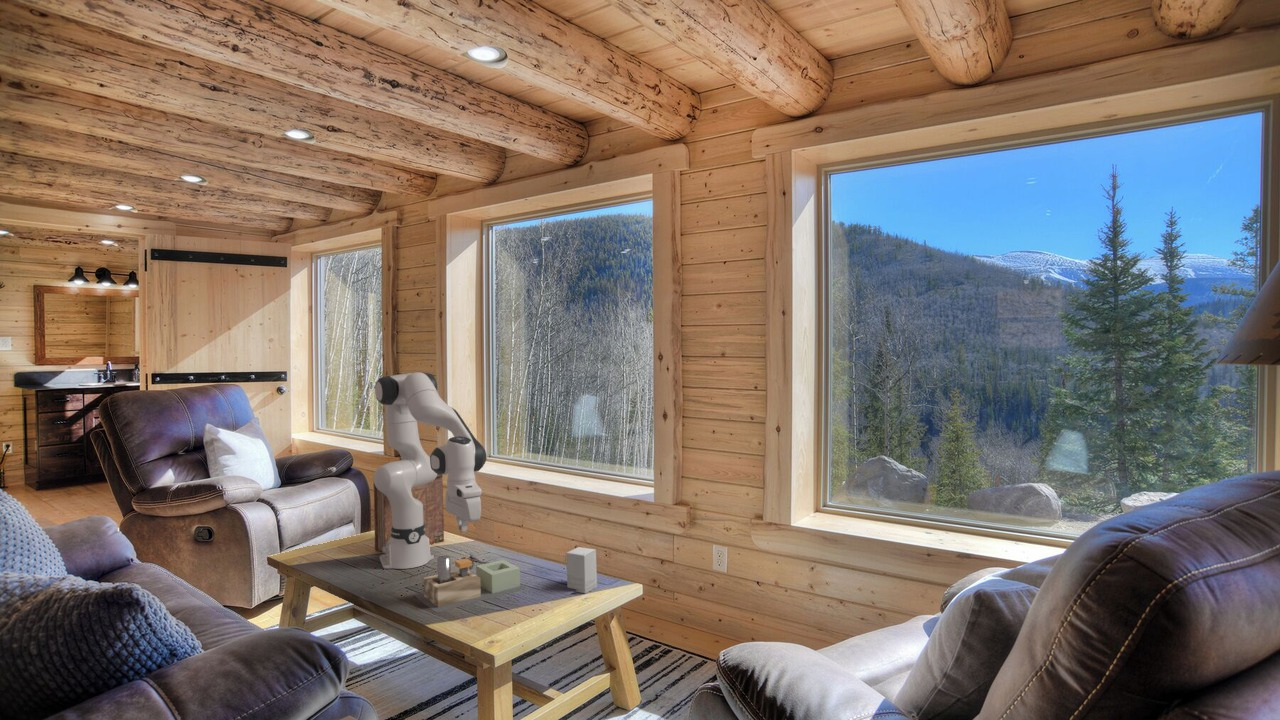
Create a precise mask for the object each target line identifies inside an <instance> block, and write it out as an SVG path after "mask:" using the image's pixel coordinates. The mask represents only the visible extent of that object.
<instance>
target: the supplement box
mask: <svg viewBox="0 0 1280 720" xmlns="http://www.w3.org/2000/svg"><path fill="white" fill-rule="evenodd" d="M565 554H566V582H567V583H566V584H567V585H566V586H567V588H568V589H573V592H575V591H576V593H580V592H581V593H582V594H587V593H588V592H590V591H592V590H594V589H596V588H597V587H598V573H597V569H598V568H597V549H595V548H589V547H588V548H587V547H580V546H578V547H575V548H573V549H571V550H570V551H567V552H565Z"/></svg>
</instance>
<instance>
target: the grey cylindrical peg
mask: <svg viewBox="0 0 1280 720" xmlns="http://www.w3.org/2000/svg"><path fill="white" fill-rule="evenodd" d="M436 563H437V564H436V565H437V567H436V568H437V575H438V584H442V583H446V582H450V581H451V571H452V569H451V556H450V555H441V556H438V557H437V558H436Z"/></svg>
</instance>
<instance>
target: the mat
mask: <svg viewBox="0 0 1280 720" xmlns="http://www.w3.org/2000/svg"><path fill="white" fill-rule="evenodd" d="M527 589H529V588H528V587H526V586H525V585H523V584H521V583H520V586H519V587H515V588H511V589H507V590H504V591H500V592H496V593H491V592H489V591H488V590H486V589H485V588H483V587H481V596H480V597H477V598H473V599H469V600H465V601H461V602H457V603H453V604H450V605H446V606H442V607H437V606H436V605H434V604H433V603H432V602H430V601H429V600H428V599H427V598H425V597H424V592H419V593H417V594H414V596H415V597H416V599H418V600H419V601H421V602H422V603H423V604H424V605H426V606H427V607H429V608H430V609H431V610H432V611H433V612H434V613H440V612H444V611H447V610H453V609H455V608H459V607H463V606H466V605H471V604H475V603H478V602H481V601H487V600H489V599H492V598H493V599H494V598H497V597H502V596H504V595H505V596H506V595H508V594H512V593H516V592H520V591H524V590H527Z"/></svg>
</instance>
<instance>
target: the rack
mask: <svg viewBox="0 0 1280 720" xmlns="http://www.w3.org/2000/svg"><path fill="white" fill-rule="evenodd" d="M475 569H476V570H475V572H476V574H475V575H477V576H478V577H480V584H481V587H483V588H485V589H486V590H488V591H489V592H491V593H496V592H500V591H504V590H507V589H511V588H515V587H519V586H520V584H521V569H520V567H519V566H516V565H515V564H513V563H511V562H509V561H507V560H505V559H500V560H496V561H492V562H488V563H486V564H482V563H481V564H478V565H476V567H475Z"/></svg>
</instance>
